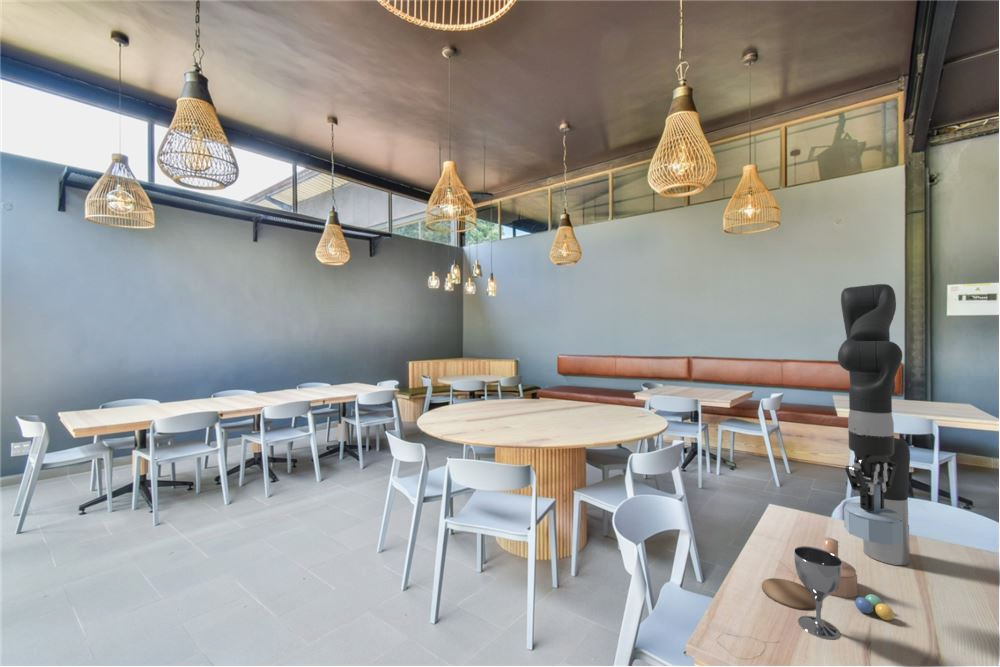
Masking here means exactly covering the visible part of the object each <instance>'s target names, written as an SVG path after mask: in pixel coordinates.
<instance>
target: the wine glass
mask: <svg viewBox="0 0 1000 667" xmlns="http://www.w3.org/2000/svg"><path fill="white" fill-rule="evenodd" d="M841 560H842V559H841V558H840V557H839V556H838V557H837V556H836V555H834V554H832V553H830V552H828V551H825V550H824V549H822V548H817V547H814V546H813V547H812V546H797V547H796V548H794V565H795V570H796V574H797V576H798V579H799V581H800V582H801V584H802V586H804V587H806V588H807V589H808V590H809V592H810V593H811V594H812V596H813V598H814V601H815V606H816V608H815V614H816V615H815V616H813V615H801V616H799V618H798V619H797V622H798V625H799V626H800V627H801V628H802V629H803V630H804V631H805V632H808V633H809V634H810V635H812V636H815V637H817V638H820V639H824V640H839V638H841V636H842V635H841V631H840V630H839V629H838V628H837V626H835V625H834V624H832V623H831V622H829V621H827V620H826V619H824V618H822V606H823V602H824V600H825V599H826V598H827V597H828V596H832V595H831V594H832V593H834V592H835V591H836V590H837V589H838V587H839V585H840V582H841V577H842V561H843V560H842V561H841Z"/></svg>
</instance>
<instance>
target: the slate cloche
mask: <svg viewBox="0 0 1000 667" xmlns="http://www.w3.org/2000/svg"><path fill="white" fill-rule="evenodd" d="M866 485H867V488H868V483H866ZM873 495H874V511H871V512H870V511H867V510H864V509H862V508H861V507H860V502H849V503H846V504H845V506H844V507H843V522H844V523H843V525H844V526H843V527H844V528H845V530H846V531H847V532H848V533H849V535H852V536H854V537H857V538H859V539H862V540H863V539H864V540H867V541H869V542H875V543H882V544H888V545H895V544H898V543H902V542H903V521H902V520H901V516H900V515H899V514H898V513H897V512H895V511H892V510H890V509H887V508H884V509H881V495H880V485H879V484H875V485H874V492H873Z"/></svg>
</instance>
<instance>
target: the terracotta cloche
mask: <svg viewBox="0 0 1000 667" xmlns="http://www.w3.org/2000/svg"><path fill="white" fill-rule="evenodd" d="M823 550H825V551H828V552H830V553H832V554H834V555H836V556H837V557H839V541H838V540H837V539H835V538H833V537H832V538H831V537H823ZM841 561H842V577H841V582H840V585H839V587H838V589H837V590H836V591H835V592H834V593H832V594H831V595H830V596H834V597H839V598H844V599H849V598H852V597H855V596H858V574H857V572H856V571H857V570H856V569H855V568H854V566H852V564H849V563H848V562H846V561H844V560H842V559H841Z"/></svg>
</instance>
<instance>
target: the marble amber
mask: <svg viewBox="0 0 1000 667" xmlns="http://www.w3.org/2000/svg"><path fill="white" fill-rule="evenodd" d="M874 611H875V613H876V615H877V616H878V617H879V618H881V619H882V620H886V621H891V620H892V619H894V617H895V613H894V610H893V609H892V608H891V607H890V606H889V605H887V604H885V603H883V604H877V605H876V606H875V610H874Z"/></svg>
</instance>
